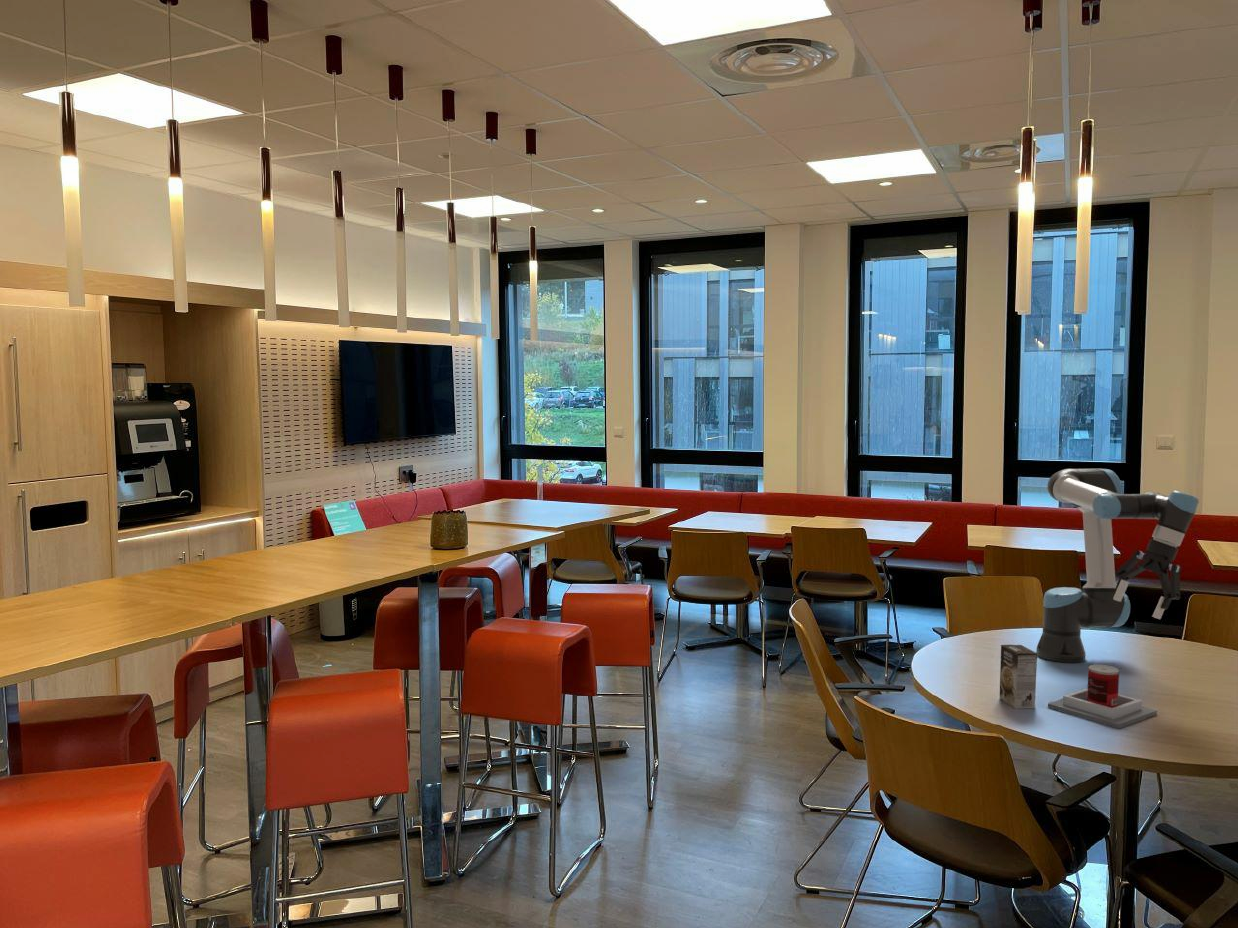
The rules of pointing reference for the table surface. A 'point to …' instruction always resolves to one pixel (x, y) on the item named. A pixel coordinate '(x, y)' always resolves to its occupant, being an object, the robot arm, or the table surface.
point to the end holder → (1103, 709)
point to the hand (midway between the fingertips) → (1135, 609)
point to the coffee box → (1018, 676)
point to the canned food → (1103, 685)
